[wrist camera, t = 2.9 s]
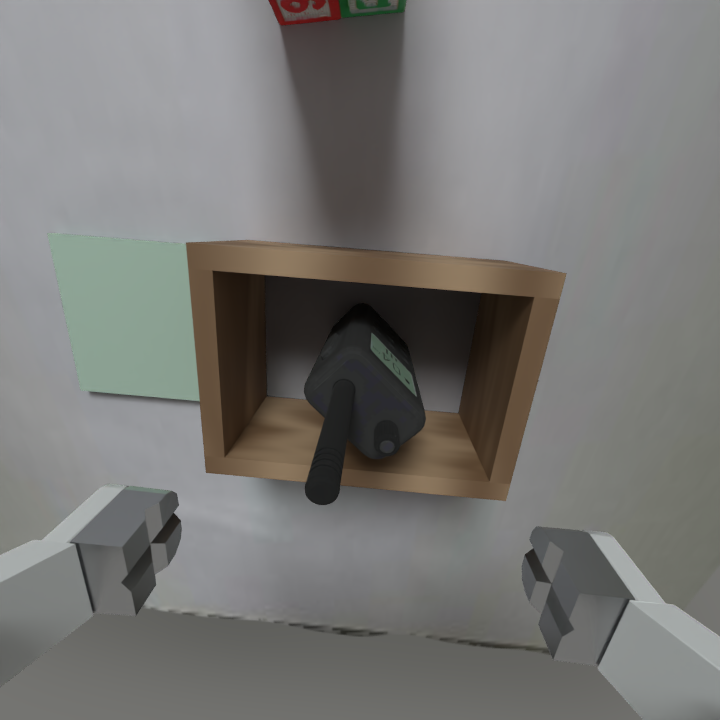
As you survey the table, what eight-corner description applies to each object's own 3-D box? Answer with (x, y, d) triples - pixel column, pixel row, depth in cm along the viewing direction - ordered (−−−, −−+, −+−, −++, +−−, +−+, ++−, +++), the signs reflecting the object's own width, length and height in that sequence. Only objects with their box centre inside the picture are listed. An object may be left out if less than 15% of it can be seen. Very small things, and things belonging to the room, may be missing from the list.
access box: (252, 408, 24) (206, 472, 18) (247, 239, 21) (185, 242, 14) (470, 427, 24) (505, 500, 17) (505, 260, 20) (566, 273, 14)
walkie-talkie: (412, 350, 22) (472, 548, 8) (373, 383, 23) (367, 613, 9) (360, 294, 21) (327, 411, 7) (321, 331, 22) (224, 499, 8)
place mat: (87, 386, 24) (80, 390, 24) (56, 233, 21) (47, 233, 20) (230, 399, 24) (227, 403, 24) (222, 247, 21) (218, 247, 20)
